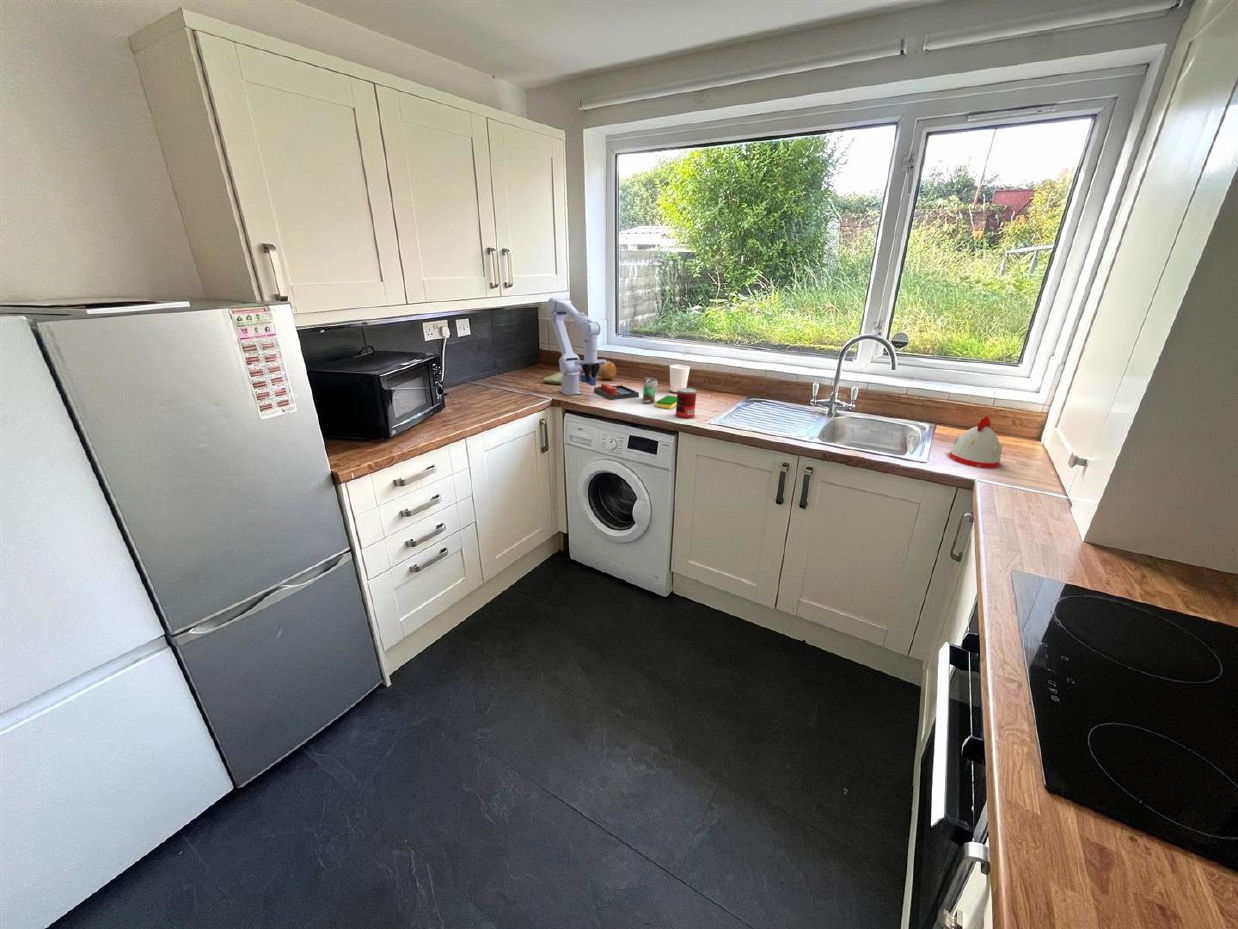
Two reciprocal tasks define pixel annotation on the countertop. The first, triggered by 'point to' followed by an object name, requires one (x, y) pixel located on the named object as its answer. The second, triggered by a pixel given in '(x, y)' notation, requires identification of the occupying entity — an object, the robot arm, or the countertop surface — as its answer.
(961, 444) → the kitchen timer
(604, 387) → the red rectangular block
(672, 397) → the dish sponge
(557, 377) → the washcloth
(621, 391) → the tray
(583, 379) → the blue rectangular block
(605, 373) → the onion
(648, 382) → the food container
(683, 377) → the cup
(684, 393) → the canned food
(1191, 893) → the countertop surface
